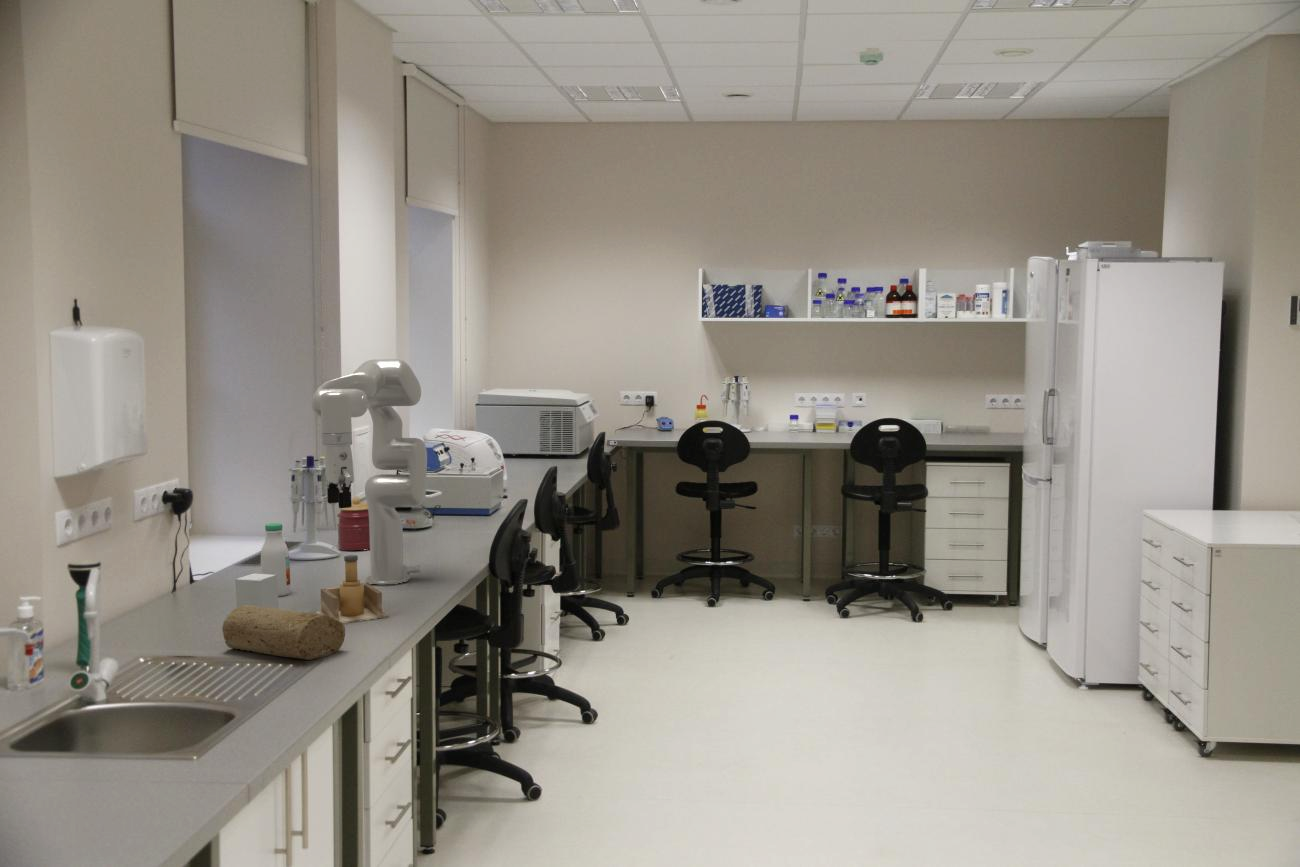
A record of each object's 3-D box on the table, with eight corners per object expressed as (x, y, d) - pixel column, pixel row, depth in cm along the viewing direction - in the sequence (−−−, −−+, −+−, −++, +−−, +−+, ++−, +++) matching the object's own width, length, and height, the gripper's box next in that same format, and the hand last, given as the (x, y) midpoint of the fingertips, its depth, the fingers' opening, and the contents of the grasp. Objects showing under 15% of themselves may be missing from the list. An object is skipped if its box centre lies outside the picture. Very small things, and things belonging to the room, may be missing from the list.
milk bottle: (282, 597, 328) (279, 526, 326) (256, 596, 330) (253, 525, 328) (295, 591, 336) (293, 522, 334) (270, 590, 337) (268, 521, 336)
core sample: (262, 638, 285) (260, 597, 284) (347, 651, 273) (346, 608, 272) (216, 652, 273) (215, 610, 272) (303, 666, 261) (302, 622, 260)
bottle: (360, 610, 310) (359, 553, 309) (367, 614, 305) (365, 557, 304) (337, 612, 307) (336, 555, 306) (343, 617, 302) (342, 559, 301)
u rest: (372, 607, 316) (371, 582, 315) (388, 617, 304) (387, 592, 303) (315, 614, 308) (315, 589, 308) (330, 625, 296) (329, 599, 296)
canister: (372, 551, 397) (370, 499, 395) (333, 552, 397) (331, 499, 396) (381, 544, 410) (379, 494, 408) (344, 545, 410) (342, 494, 409)
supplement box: (280, 623, 299) (278, 574, 298) (261, 630, 292) (259, 580, 291) (255, 621, 301) (253, 572, 300) (236, 628, 294) (234, 578, 293)
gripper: (361, 441, 299) (364, 508, 301) (341, 435, 314) (344, 499, 315) (332, 443, 295) (334, 511, 297) (313, 437, 310) (315, 502, 311)
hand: (339, 505), depth 306 cm, fingers open, 9 cm apart
